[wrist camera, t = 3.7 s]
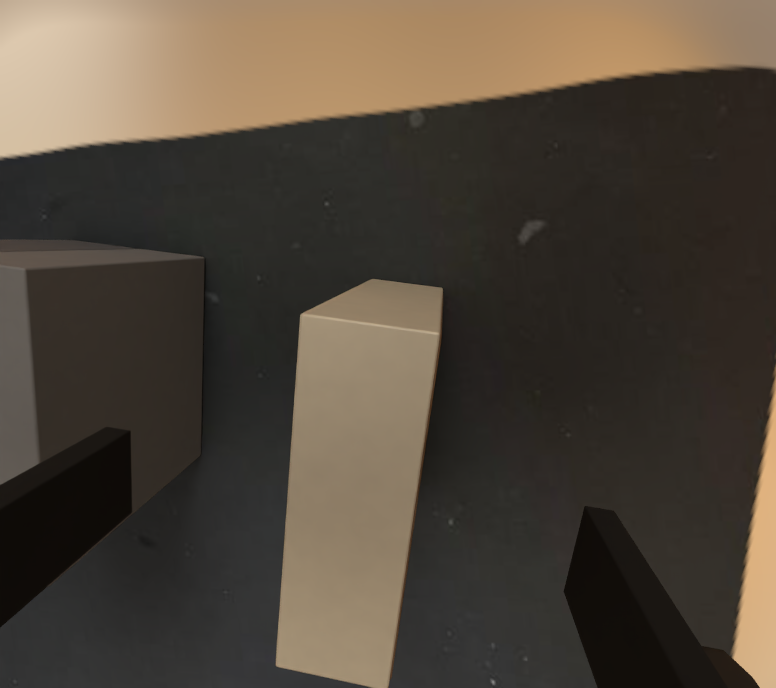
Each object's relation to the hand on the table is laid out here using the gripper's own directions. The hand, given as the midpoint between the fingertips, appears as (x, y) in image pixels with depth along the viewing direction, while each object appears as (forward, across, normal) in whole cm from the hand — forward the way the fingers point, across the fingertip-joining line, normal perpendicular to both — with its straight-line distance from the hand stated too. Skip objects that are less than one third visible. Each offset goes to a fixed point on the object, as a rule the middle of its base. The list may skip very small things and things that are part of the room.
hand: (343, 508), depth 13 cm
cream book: (+10, 0, 0) cm, 10 cm away
